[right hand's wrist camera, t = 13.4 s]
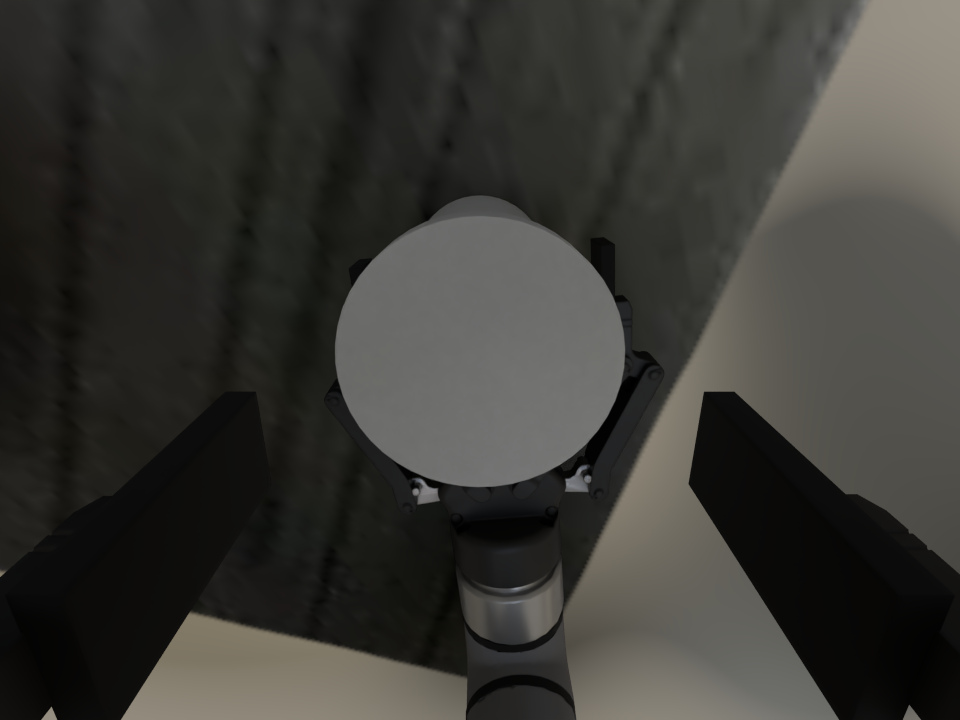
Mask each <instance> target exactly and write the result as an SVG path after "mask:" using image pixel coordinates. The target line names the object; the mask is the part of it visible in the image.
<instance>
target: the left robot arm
mask: <svg viewBox="0 0 960 720" xmlns="http://www.w3.org/2000/svg"><path fill="white" fill-rule="evenodd" d="M371 261H372V259H361V260H358V261H357V262H356V263H355V264H354V265H353V266H351V267H350V268H349V273H350V278H351V284H352V287H353V285H354V284H355V282H356V281H357V279H358V277H359V276H360V274H361V273H362V272H363V271H364V270H365V268H366V267H367V266H368V265H369V264H370V262H371ZM591 264H592V266H593V267H594V268H595V270H596V271H597V272H598V273H599V275H600V276H601V277H602V279H603V280H604V282H605V284H606V285H607V287H608V289H609V291H610V292H611V294H612V296H613V298H614V301H615V303H616V306H617V309H618V311H619V314H620V318H621V322H622V327H623V331H624V342H625V362H624V371H623V376H622V381H621V385H620V388H619V391H618V394H617V397H616V400H615V402H614V404H613V406H612V408H611V410H610V412H609V414H608V416H607V418H606V419H605V421H604V422H603V424H602V425H601V427H600V428H599V430H598V431H597V432H596V433H595V434H594V436H593V437H592V438H591V439H590V440H589V443H588V445H587V448H586V451H585V456H580V457H578V458H577V461H576V462H575V464H574V466H573V468H572V469H570V470H568V471H563V470H562V468H561V467H560V466H557V467H555V468H553V469H551V470H549V471H547V472H545V473H543V474H541V475H538V476H536V477H533V478H531V479H528V480H524V481H520V482H517V483H513V484H507V485H501V486H493V487H469V486H458V485H453V484H447V483H443V482H439V481H434V480H431V479H429V478H426V477H424V476H422V475H419V474H417V473H415V472H413V471H411V470H409V469H407V468H405V467H404V466H402V465H400V464H398V463H397V462H395V461H394V460H393V459H391V458H390V457H389V456H387V455H386V454H385V453H383V452H382V451H381V450H380V449H379V448H378V447H377V446H376V445H375V444H374V443H373V442H372V441H371V440H370V439H369V438H368V437H367V436H366V434H365V433H364V432H363V431H362V429H361V428H360V427H359V425H358V424H357V422H356V421H355V419H354V417H353V416H352V414H351V413H350V410H349V408H348V406H347V404H346V402H345V399H344V397H343V394H342V391H341V388H340V385H339V381H338V378H337V379H336V380H335V382H334V383H333V385H332V386H331V388H330V390H329V391H328V393H327V394H326V396H325V398H324V402H325V404H326V406H327V407H328V409H329V410H330V411H331V412H332V413H333V415H334V416H335V417H336V418H337V420H338V421H339V422H340V423H341V425H342V426H343V427H344V428H345V430H346V431H347V432H348V433H349V435H350V436H351V437H352V438H353V440H354V441H355V442H356V443H357V445H358V446H359V447H360V448H361V450H362V451H363V452H364V453H365V455H366V456H367V457H368V458H369V460H370V461H371V462H372V463H373V465H374V466H375V467H376V468H377V470H378V471H379V472H380V473H381V475H382V476H383V477H384V478H385V480H386V481H387V482H388V483H389V485H390V486H391V487H392V489H393V492H394V496H395V499H396V502H397V505H398V508H399V510H400V512H401V513H403V514H406V515H410V514H413V513H414V512H415V511H416V509H417V505H418V504H424V503H429V502H435V501H441V503H442V504H443V505H444V506H445V508H446V509H447V511H448V515H449V522H450V529H451V537H452V544H453V551H454V558H455V561H456V574H457V581H458V587H459V594H460V601H461V607H462V615H463V620H464V627H465V637H466V647H467V660H468V680H467V709H466V720H576V714H575V705H574V698H573V692H572V686H571V681H570V675H569V669H568V663H567V657H566V647H565V635H564V622H563V581H562V562H561V555H560V553H561V536H560V513H559V503H560V500H561V497H562V496H563V494H564V492H565V491H568V492H589V495H590V497H591V498H592V499H593V500H596V501H601V500H603V499H605V498H606V497H607V495H608V490H609V483H610V475H611V470H612V469H613V467H614V465H615V463H616V461H617V460H618V458H619V456H620V454H621V452H622V451H623V449H624V447H625V445H626V444H627V442H628V440H629V438H630V436H631V435H632V433H633V431H634V429H635V428H636V426H637V424H638V422H639V420H640V419H641V417H642V415H643V413H644V411H645V410H646V408H647V406H648V404H649V403H650V401H651V399H652V397H653V395H654V394H655V392H656V390H657V388H658V387H659V385H660V383H661V381H662V379H663V377H664V370H663V369H662V367H661V366H660V365H659V364H658V363H657V361H656V360H655V359H654V358H653V357H652V356H651V355H650V353H648V352H645V351H641V352H638V351H634V350H632V307H631V305H630V303H629V301H628V300H627V299H626V298H625V297H624V296H623V295H619V296H615V244H613V243H612V242H610V241H609V240H607V239H606V238H604V237H601V238H591Z"/></svg>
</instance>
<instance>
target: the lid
mask: <svg viewBox="0 0 960 720" xmlns="http://www.w3.org/2000/svg"><path fill="white" fill-rule="evenodd" d="M624 362H625V342H624V331H623V327H622V322H621V318H620V314H619V311H618V309H617V306H616V303H615V301H614V298H613V296H612V294H611V292H610V291H609V289H608V287H607V285H606V284H605V282H604V280H603V279H602V277H601V276H600V275H599V273H598V272H597V271H596V270H595V268H594V267H593V266H592V264H591V263H590V262H588V261H587V260H586V259H585V258H584V257H583V256H582V255H581V254H580V253H579V252H578V251H577V250H576V249H575V248H574V247H573V246H572V245H571V244H570V243H569V242H567V241H566V240H565V239H563V238H562V237H560V236H559V235H558V234H556V233H555V232H553V231H551V230H550V229H548V228H546V227H544V226H542V225H540V224H538V223H536V222H533V221H530V220H528V219H525V218H522V217H519V216H515V215H510V214H506V213H501V212H490V211H470V212H460V213H455V214H449V215H444V216H441V217H438V218H435V219H432V220H429V221H426V222H424V223H422V224H420V225H418V226H416V227H414V228H412V229H410V230H408V231H407V232H405V233H404V234H403V235H401V236H400V237H398V238H397V239H395V240H394V241H393V242H392V243H390V244H389V245H388V246H387V247H386V248H385V249H384V250H383V251H382V252H381V253H379V254H378V255H377V256H376V257H375V258H374V259H373V260H372V261H371V262H370V264H369V265H368V266H367V267H366V268H365V270H364V271H363V272H362V273H361V274H360V276H359V277H358V279H357V281H356V282H355V284H354V285H353V287H352V289H351V290H350V292H349V294H348V297H347V299H346V301H345V303H344V306H343V308H342V311H341V315H340V318H339V322H338V326H337V333H336V341H335V364H336V370H337V376H338V381H339V385H340V388H341V391H342V394H343V397H344V399H345V402H346V404H347V406H348V408H349V410H350V413H351V414H352V416H353V417H354V419H355V421H356V422H357V424H358V425H359V427H360V428H361V429H362V431H363V432H364V433H365V434H366V436H367V437H368V438H369V439H370V440H371V441H372V442H373V443H374V444H375V445H376V446H377V447H378V448H379V449H380V450H381V451H382V452H383V453H385V454H386V455H387V456H389V457H390V458H391V459H393V460H394V461H395V462H397V463H398V464H400V465H402V466H404V467H405V468H407V469H409V470H411V471H413V472H415V473H417V474H419V475H422V476H424V477H426V478H429V479H433V480H436V481H439V482H443V483H447V484H453V485H458V486H469V487H493V486H501V485H507V484H513V483H517V482H520V481H524V480H528V479H531V478H533V477H536V476H538V475H541V474H543V473H545V472H547V471H549V470H551V469H553V468H555V467H557V466H559V465H560V464H562V463H563V462H564V461H566V460H567V459H569V458H570V457H572V456H573V455H574V454H575V453H577V452H578V451H579V450H580V449H581V448H582V447H583V446H584V445H586V444H587V442H588V441H589V440H590V439H591V438H592V437H593V436H594V434H595V433H596V432H597V431H598V430H599V428H600V427H601V425H602V424H603V422H604V421H605V419H606V418H607V416H608V414H609V412H610V410H611V408H612V406H613V404H614V402H615V400H616V397H617V394H618V391H619V388H620V385H621V381H622V376H623V371H624Z"/></svg>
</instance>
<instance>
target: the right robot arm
mask: <svg viewBox="0 0 960 720" xmlns="http://www.w3.org/2000/svg"><path fill="white" fill-rule="evenodd" d="M270 485H271V478H270V472H269V467H268V461H267V455H266V449H265V443H264V437H263V431H262V425H261V419H260V413H259V407H258V401H257V395H256V392H225V393H224V394H223V395H222V396H221V397H219V398H218V399H217V400H216V401H215V402H214V403H213V404H212V405H211V406H210V407H209V408H208V409H206V410H205V411H204V412H203V413H202V414H201V415H200V416H199V417H198V418H197V419H196V420H194V421H193V422H192V423H191V424H190V425H189V426H188V427H187V428H186V429H185V430H184V431H183V432H181V433H180V434H179V435H178V436H177V437H176V438H175V439H174V440H173V441H172V442H171V443H170V444H168V445H167V446H166V447H165V448H164V449H163V450H162V451H161V452H160V453H159V454H158V455H156V456H155V457H154V458H153V459H152V460H151V461H150V462H149V463H148V464H147V465H146V466H145V467H143V468H142V469H141V470H140V471H139V472H138V473H137V474H136V475H135V476H134V477H133V478H132V479H130V480H129V481H128V482H127V483H126V484H125V485H124V486H123V487H122V488H121V489H120V490H119V491H117V492H116V493H115V494H114V495H113V496H103V497H101V498H99V499H97V500H95V501H94V502H92V503H90V504H88V505H87V506H85V507H83V508H81V509H79V510H78V511H76V512H74V513H73V514H72V515H71V516H70V517H68V518H67V519H66V520H65V521H64V522H63V523H62V524H60V525H59V526H58V527H57V528H56V529H55V530H54V531H52V535H48V536H47V537H46V538H44V539H43V540H42V541H41V542H40V543H39V544H38V545H36V546H35V547H34V551H33V552H28V553H27V554H26V555H25V556H24V557H23V558H22V559H20V560H19V561H18V562H17V563H16V564H15V565H14V566H12V567H11V568H10V569H9V570H8V571H7V572H6V573H4V574H3V575H2V576H1V577H0V720H41V719H42V718H43V717H44V715H45V714H46V713H47V712H48V710H49V709H50V708H51V706H52V708H53V711H54V713H55V715H56V718H57V720H121V719H122V717H123V715H124V714H125V712H126V711H127V709H128V708H129V706H130V705H131V703H132V701H133V700H134V698H135V697H136V695H137V693H138V692H139V690H140V689H141V687H142V686H143V684H144V683H145V681H146V679H147V678H148V676H149V675H150V673H151V672H152V670H153V669H154V667H155V665H156V664H157V662H158V661H159V659H160V658H161V656H162V654H163V653H164V651H165V650H166V648H167V647H168V645H169V643H170V642H171V640H172V639H173V637H174V636H175V634H176V632H177V631H178V629H179V628H180V626H181V625H182V623H183V622H184V620H185V618H186V617H187V615H188V614H189V612H190V611H191V609H192V607H193V606H194V604H195V603H196V601H197V600H198V598H199V597H200V595H201V593H202V592H203V590H204V589H205V587H206V586H207V584H208V582H209V581H210V579H211V578H212V576H213V575H214V573H215V571H216V570H217V568H218V567H219V565H220V564H221V562H222V561H223V559H224V557H225V556H226V554H227V553H228V551H229V550H230V548H231V546H232V545H233V543H234V542H235V540H236V539H237V537H238V535H239V534H240V532H241V531H242V529H243V528H244V526H245V525H246V523H247V521H248V520H249V518H250V517H251V515H252V514H253V512H254V510H255V509H256V507H257V506H258V504H259V503H260V501H261V499H262V498H263V496H264V495H265V493H266V492H267V490H268V489H269V487H270ZM689 485H690V487H691V489H692V490H693V492H694V493H695V495H696V496H697V498H698V499H699V501H700V503H701V504H702V506H703V507H704V509H705V510H706V512H707V514H708V515H709V517H710V518H711V520H712V521H713V523H714V524H715V526H716V528H717V529H718V531H719V532H720V534H721V535H722V537H723V539H724V540H725V542H726V543H727V545H728V546H729V548H730V550H731V551H732V553H733V554H734V556H735V557H736V559H737V560H738V562H739V564H740V565H741V567H742V568H743V570H744V571H745V573H746V575H747V576H748V578H749V579H750V581H751V582H752V584H753V585H754V587H755V589H756V590H757V592H758V593H759V595H760V596H761V598H762V600H763V601H764V603H765V604H766V606H767V607H768V609H769V611H770V612H771V614H772V615H773V617H774V618H775V620H776V622H777V623H778V625H779V626H780V628H781V629H782V631H783V633H784V634H785V636H786V637H787V639H788V640H789V642H790V643H791V645H792V647H793V648H794V650H795V651H796V653H797V654H798V656H799V658H800V659H801V661H802V662H803V664H804V665H805V667H806V669H807V670H808V672H809V673H810V675H811V676H812V678H813V679H814V681H815V683H816V684H817V686H818V687H819V689H820V690H821V692H822V693H823V695H824V697H825V698H826V700H827V701H828V703H829V704H830V706H831V708H832V709H833V711H834V712H835V714H836V715H837V717H838V719H839V720H903V718H904V715H905V713H906V711H907V708H908V706H909V705H910V706H911V707H912V709H913V710H914V711H915V712H916V714H917V715H918V716H919V718H920V719H921V720H960V574H959V573H958V572H956V571H955V570H954V569H953V568H952V567H951V566H950V565H948V564H947V563H946V562H945V561H944V560H943V559H941V558H940V557H939V556H938V555H937V554H936V553H935V552H933V551H932V550H928V549H927V545H925V544H924V543H923V542H922V541H921V540H920V539H918V538H917V537H916V536H915V535H914V534H909V532H908V529H907V528H906V527H905V526H904V525H902V524H901V523H900V522H899V521H898V520H897V519H895V518H894V517H893V516H892V515H891V514H890V513H888V512H887V511H886V510H884V509H883V508H881V507H879V506H877V505H875V504H874V503H872V502H870V501H868V500H866V499H865V498H863V497H861V496H859V495H858V494H845V493H844V492H843V491H841V490H840V489H839V488H838V487H837V486H836V485H835V484H834V483H833V482H832V481H831V480H829V479H828V478H827V477H826V476H825V475H824V474H823V473H822V472H821V471H820V470H819V469H818V468H817V467H815V466H814V465H813V464H812V463H811V462H810V461H809V460H808V459H807V458H806V457H805V456H803V455H802V454H801V453H800V452H799V451H798V450H797V449H796V448H795V447H794V446H793V445H792V444H790V443H789V442H788V441H787V440H786V439H785V438H784V437H783V436H782V435H781V434H780V433H778V432H777V431H776V430H775V429H774V428H773V427H772V426H771V425H770V424H769V423H768V422H767V421H765V420H764V419H763V418H762V417H761V416H760V415H759V414H758V413H757V412H756V411H755V410H753V409H752V408H751V407H750V406H749V405H748V404H747V403H746V402H745V401H744V400H743V399H742V398H741V397H739V396H738V395H737V394H736V393H735V392H704V395H703V401H702V407H701V413H700V419H699V425H698V431H697V437H696V443H695V449H694V455H693V461H692V467H691V472H690V478H689Z"/></svg>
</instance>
